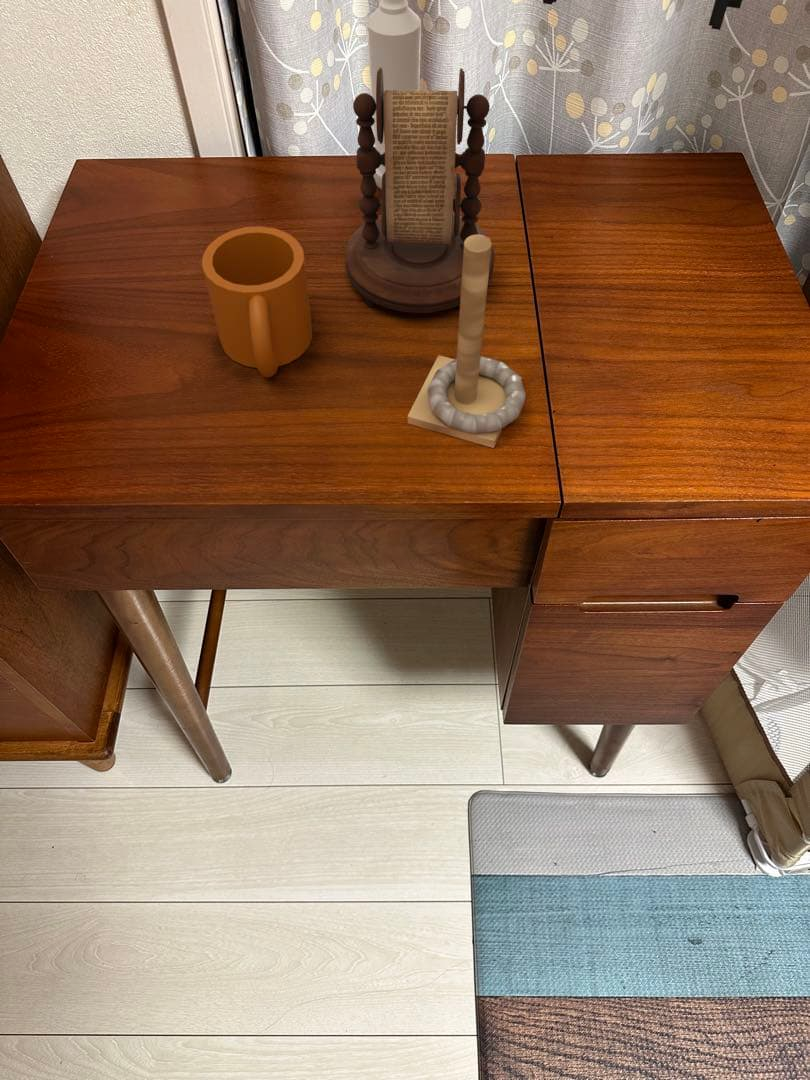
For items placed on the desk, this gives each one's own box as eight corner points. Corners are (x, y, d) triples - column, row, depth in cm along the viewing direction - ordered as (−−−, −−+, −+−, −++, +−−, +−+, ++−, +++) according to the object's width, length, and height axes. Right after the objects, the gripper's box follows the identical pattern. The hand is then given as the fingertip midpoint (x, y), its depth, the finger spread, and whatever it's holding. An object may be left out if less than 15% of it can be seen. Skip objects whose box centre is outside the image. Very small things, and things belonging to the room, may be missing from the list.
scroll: (341, 323, 78) (322, 122, 62) (351, 227, 86) (337, 26, 70) (494, 326, 78) (517, 124, 61) (490, 229, 86) (509, 27, 69)
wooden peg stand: (520, 384, 74) (546, 222, 60) (493, 448, 70) (514, 290, 56) (438, 362, 75) (444, 199, 61) (407, 423, 71) (406, 264, 57)
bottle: (373, 167, 92) (362, -97, 71) (419, 166, 92) (421, -97, 71) (373, 194, 89) (361, -72, 68) (419, 194, 89) (422, -72, 68)
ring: (534, 380, 73) (537, 367, 71) (507, 447, 69) (509, 435, 67) (446, 356, 74) (447, 343, 73) (414, 421, 70) (414, 408, 69)
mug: (205, 392, 74) (182, 315, 66) (229, 303, 80) (210, 223, 73) (303, 396, 73) (291, 320, 66) (319, 306, 80) (310, 227, 72)
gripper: (952, -459, 33) (792, -1, 48) (545, -472, 37) (509, -41, 51) (954, -426, 30) (779, 61, 44) (499, -445, 33) (474, 13, 47)
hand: (634, 6), depth 48 cm, fingers open, 9 cm apart
